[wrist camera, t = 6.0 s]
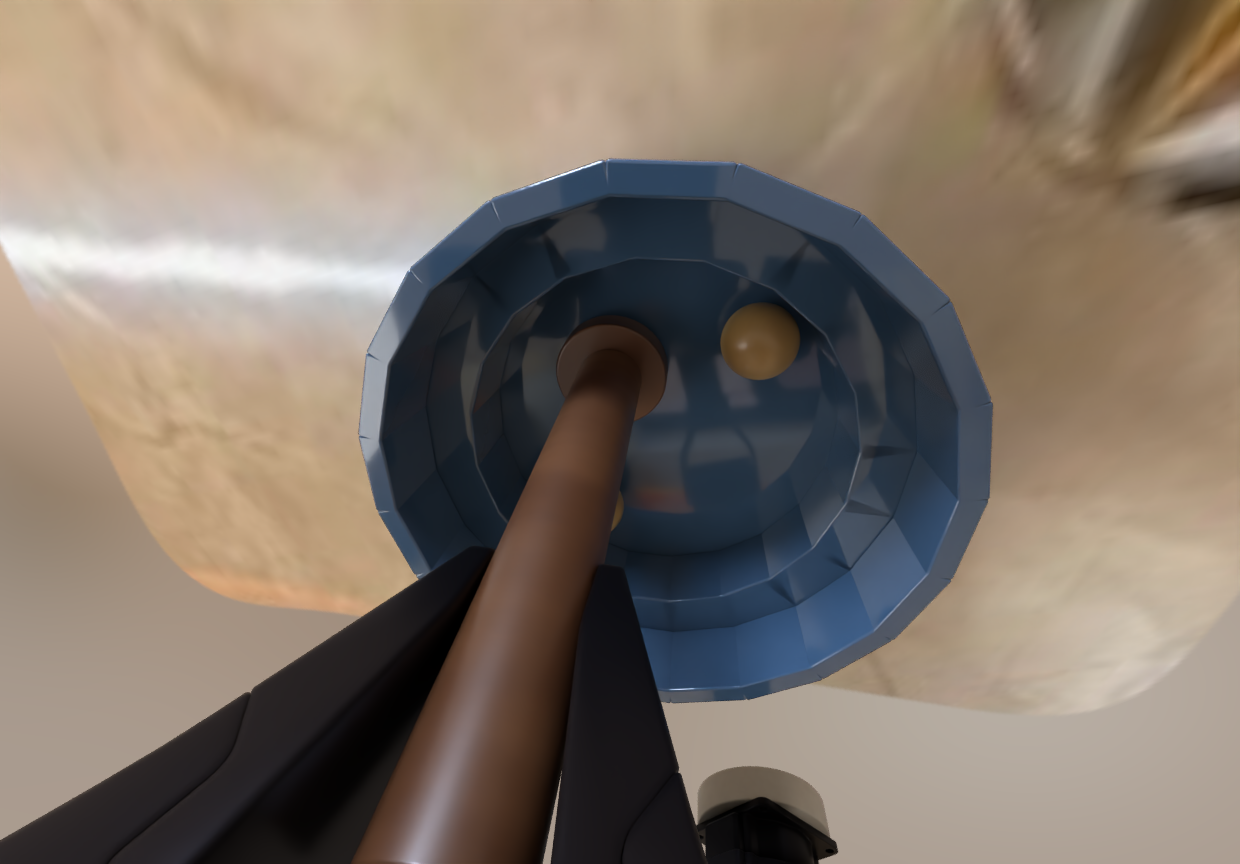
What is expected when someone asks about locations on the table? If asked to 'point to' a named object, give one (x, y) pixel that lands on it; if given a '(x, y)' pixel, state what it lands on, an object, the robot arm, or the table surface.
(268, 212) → the table surface
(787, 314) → the chickpea
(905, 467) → the bowl
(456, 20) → the table surface
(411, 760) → the pestle
